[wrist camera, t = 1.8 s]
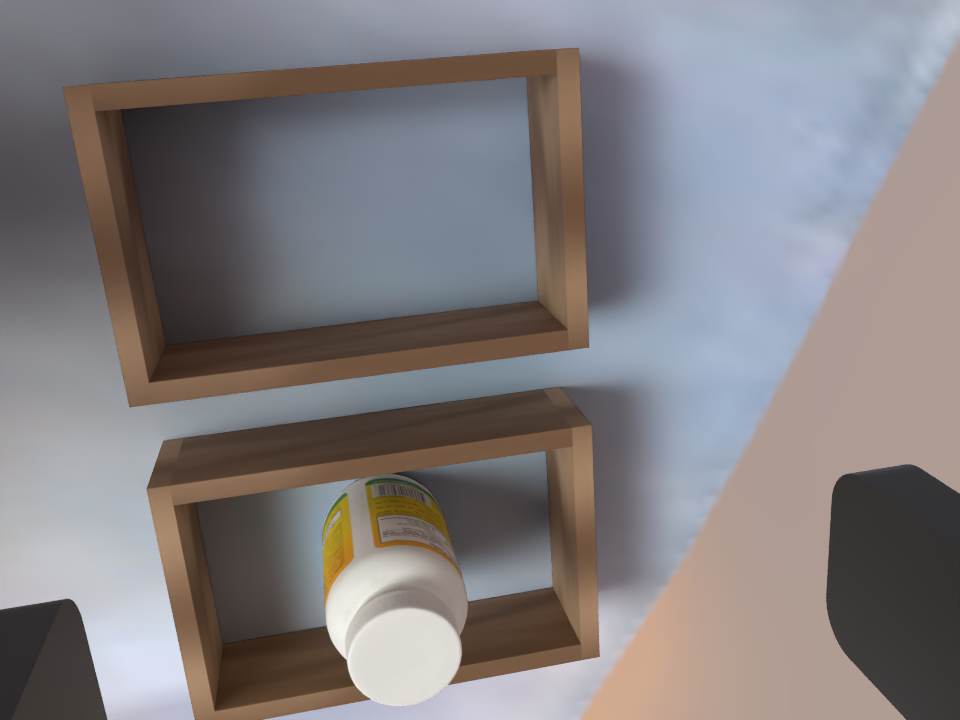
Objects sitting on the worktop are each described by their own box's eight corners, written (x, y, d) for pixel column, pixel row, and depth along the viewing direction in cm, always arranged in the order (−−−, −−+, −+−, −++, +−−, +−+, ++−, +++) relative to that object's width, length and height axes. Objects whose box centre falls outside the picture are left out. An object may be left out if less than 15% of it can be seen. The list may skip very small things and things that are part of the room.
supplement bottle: (410, 449, 40) (445, 563, 31) (461, 544, 41) (508, 677, 32) (298, 505, 39) (299, 636, 30) (354, 599, 41) (371, 747, 32)
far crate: (163, 441, 37) (146, 489, 33) (560, 386, 40) (591, 424, 36) (207, 662, 41) (197, 731, 37) (570, 599, 43) (599, 656, 39)
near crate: (92, 84, 33) (62, 87, 29) (545, 49, 35) (579, 48, 31) (148, 367, 36) (129, 407, 32) (557, 316, 39) (589, 347, 35)
